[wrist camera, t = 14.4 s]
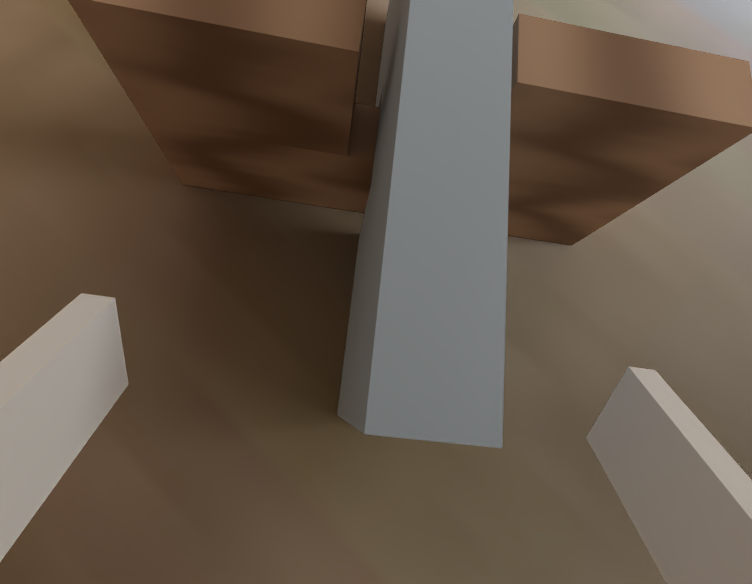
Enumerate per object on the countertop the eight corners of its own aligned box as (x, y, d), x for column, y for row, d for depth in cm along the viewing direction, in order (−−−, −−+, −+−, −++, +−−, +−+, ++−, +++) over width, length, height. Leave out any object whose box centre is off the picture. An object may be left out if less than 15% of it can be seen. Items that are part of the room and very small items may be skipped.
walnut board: (571, 202, 23) (748, 61, 14) (572, 245, 23) (759, 128, 13) (194, 140, 21) (92, -75, 12) (183, 184, 21) (65, -5, 11)
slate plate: (427, 30, 25) (520, -289, 13) (392, 421, 19) (502, 447, 8) (385, 22, 25) (443, -310, 13) (336, 415, 19) (363, 433, 7)
